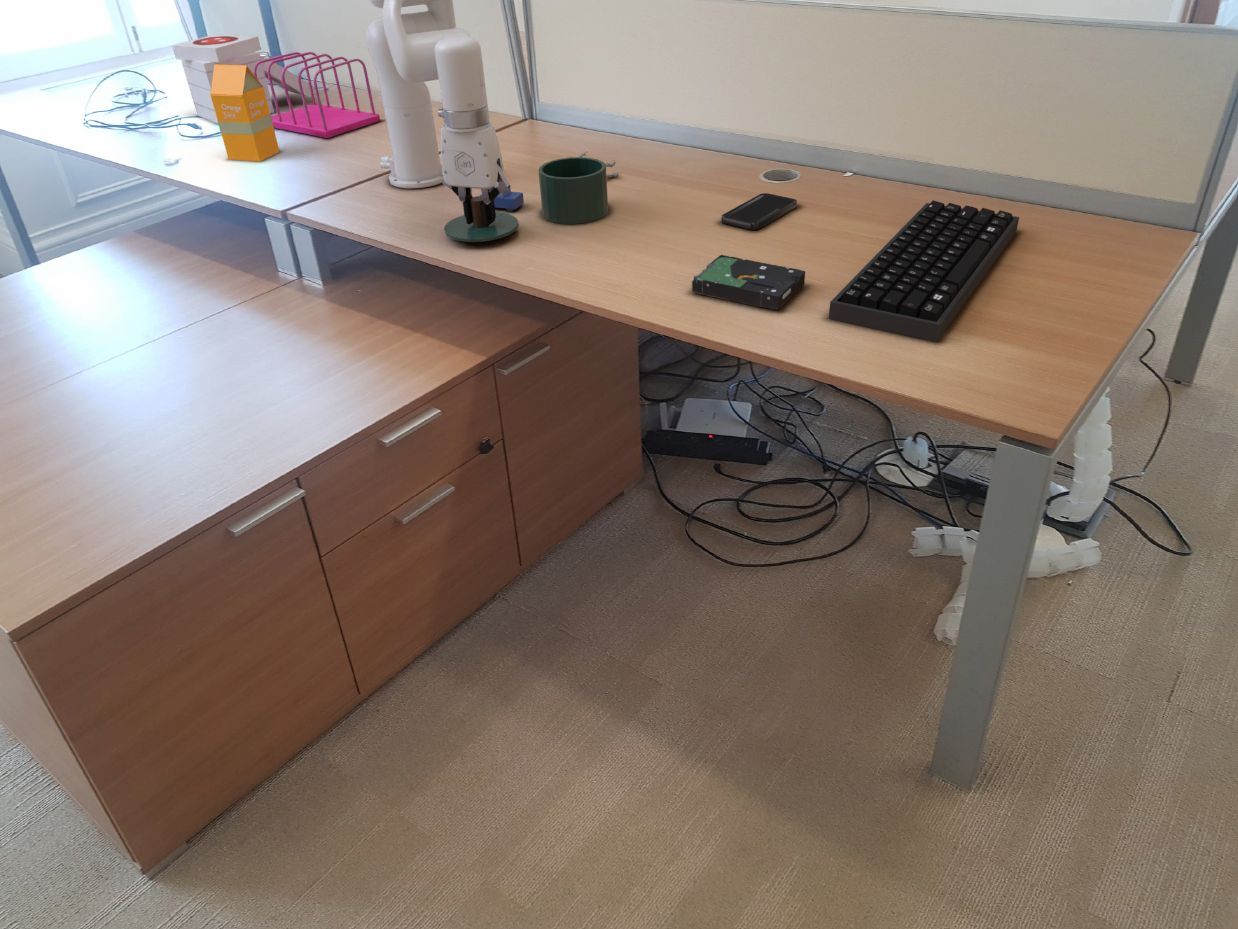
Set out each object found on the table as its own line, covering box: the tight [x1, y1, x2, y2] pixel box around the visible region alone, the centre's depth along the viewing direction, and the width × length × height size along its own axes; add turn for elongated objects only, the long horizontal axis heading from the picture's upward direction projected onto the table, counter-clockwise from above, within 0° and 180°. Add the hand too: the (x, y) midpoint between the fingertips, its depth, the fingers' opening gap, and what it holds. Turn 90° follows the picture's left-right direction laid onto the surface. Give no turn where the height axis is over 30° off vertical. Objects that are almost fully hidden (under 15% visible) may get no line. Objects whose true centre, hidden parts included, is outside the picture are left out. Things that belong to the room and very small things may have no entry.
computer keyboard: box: [828, 199, 1020, 343], centre depth 148 cm, size 45×16×4 cm, turn 148°
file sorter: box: [254, 51, 381, 139], centre depth 233 cm, size 17×25×16 cm
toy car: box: [479, 182, 525, 213], centre depth 181 cm, size 8×4×4 cm, turn 69°
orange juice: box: [210, 64, 280, 163], centre depth 212 cm, size 8×9×20 cm
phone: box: [721, 192, 798, 231], centre depth 172 cm, size 8×1×15 cm
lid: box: [443, 195, 520, 243], centre depth 168 cm, size 13×13×6 cm
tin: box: [538, 156, 609, 225], centre depth 175 cm, size 12×12×8 cm
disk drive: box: [691, 254, 806, 311], centre depth 146 cm, size 10×3×15 cm
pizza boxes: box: [171, 33, 315, 125], centre depth 248 cm, size 19×30×18 cm, turn 133°
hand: (481, 221), depth 169 cm, fingers closed on lid, 2 cm apart
